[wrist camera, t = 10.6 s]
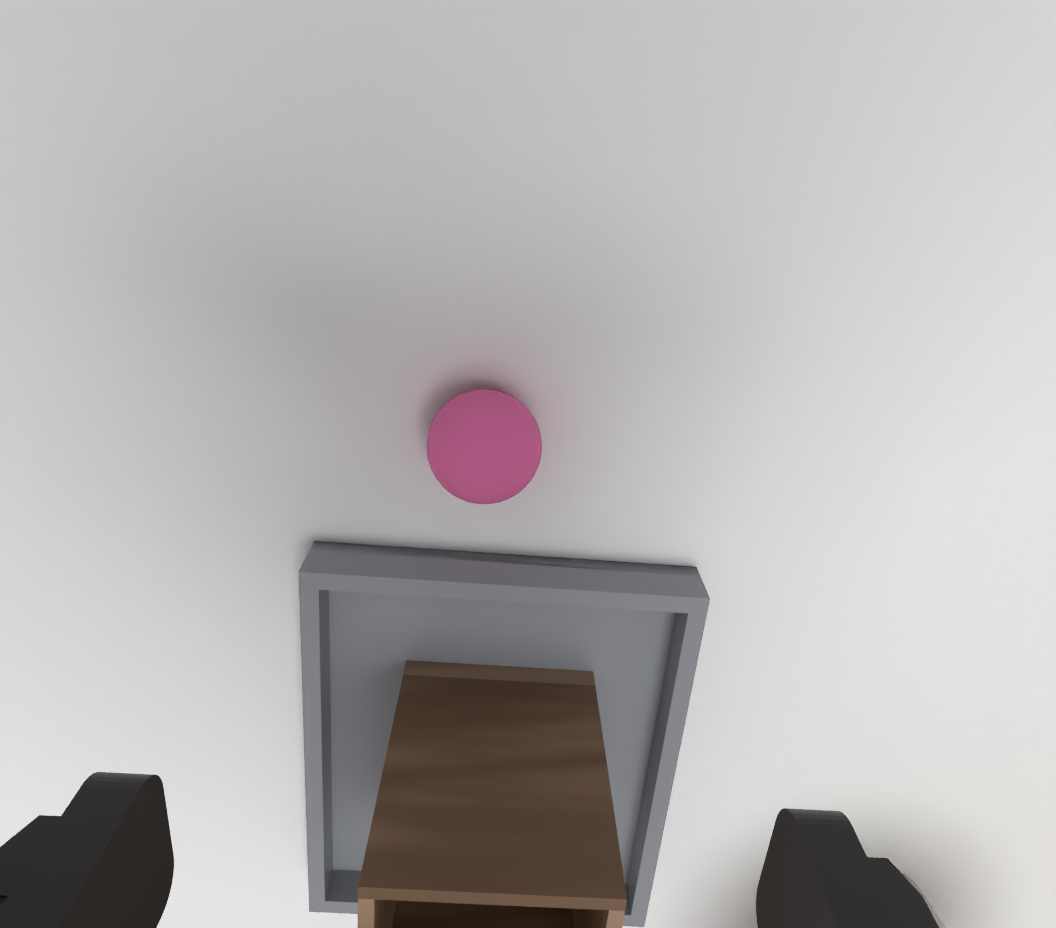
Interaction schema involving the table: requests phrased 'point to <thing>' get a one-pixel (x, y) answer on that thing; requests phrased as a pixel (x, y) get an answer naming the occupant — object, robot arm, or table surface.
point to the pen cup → (493, 805)
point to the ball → (484, 446)
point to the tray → (488, 639)
